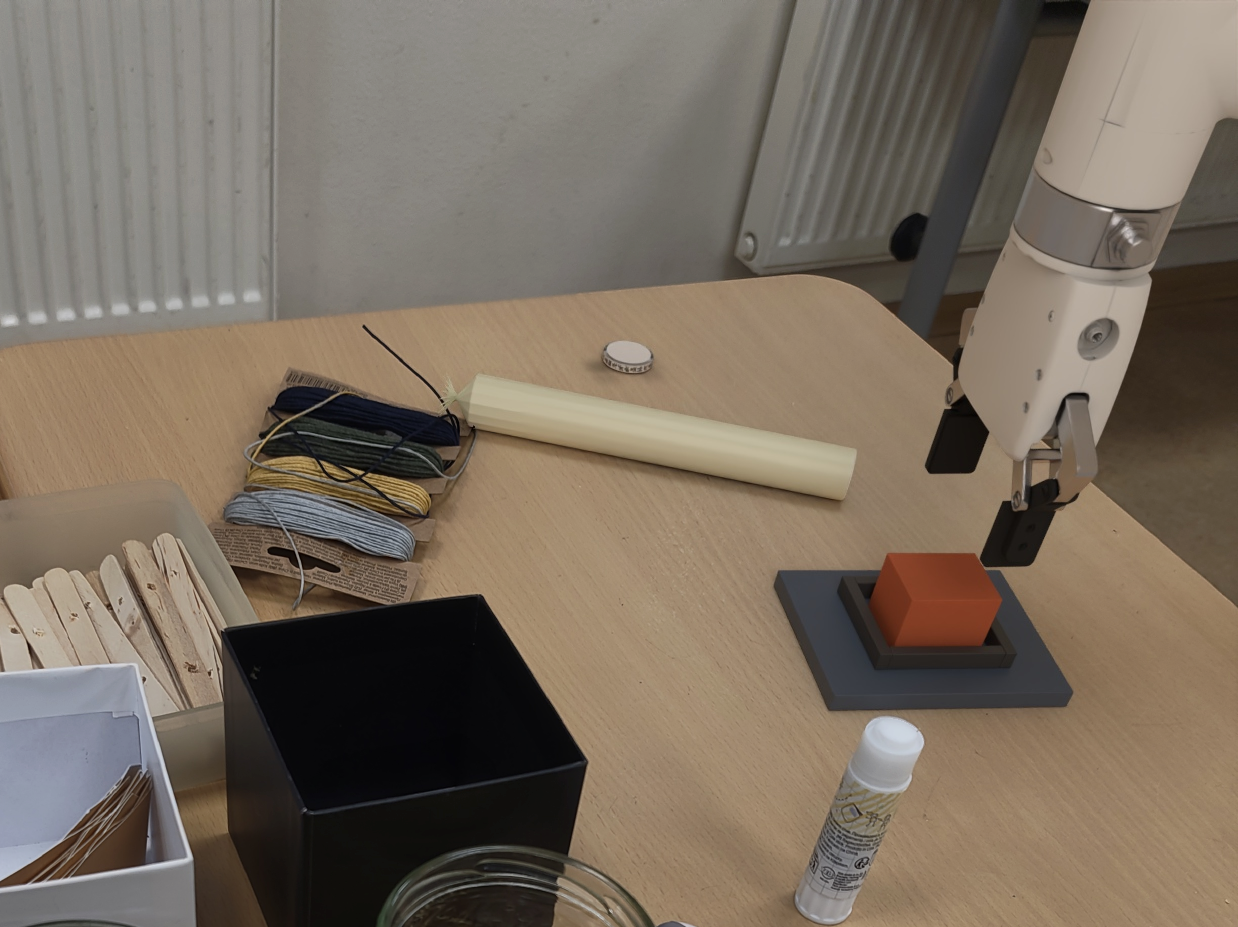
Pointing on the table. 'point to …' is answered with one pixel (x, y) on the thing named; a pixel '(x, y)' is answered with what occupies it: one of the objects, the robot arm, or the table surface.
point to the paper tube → (655, 436)
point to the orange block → (934, 600)
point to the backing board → (914, 652)
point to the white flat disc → (627, 356)
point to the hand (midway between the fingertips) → (975, 516)
